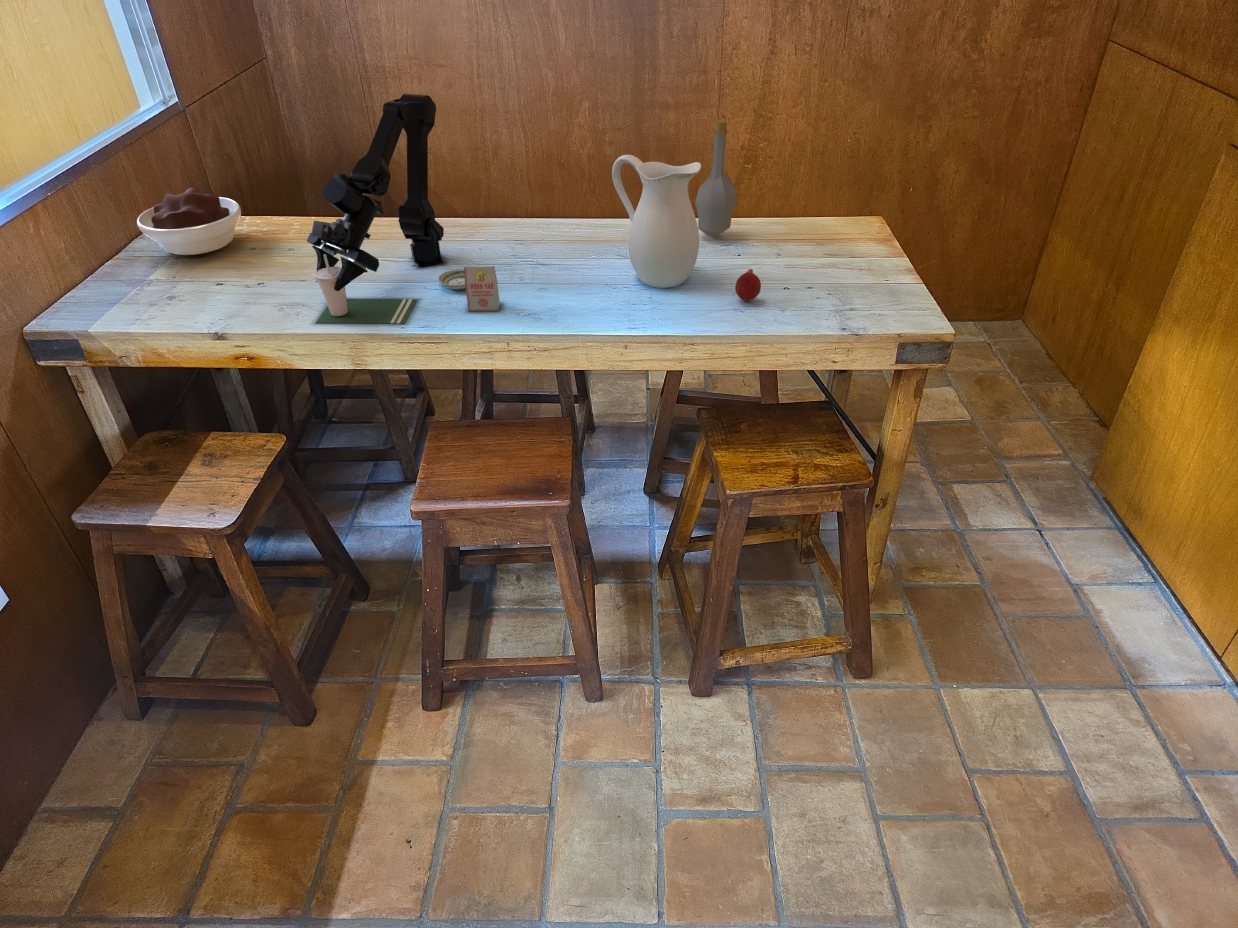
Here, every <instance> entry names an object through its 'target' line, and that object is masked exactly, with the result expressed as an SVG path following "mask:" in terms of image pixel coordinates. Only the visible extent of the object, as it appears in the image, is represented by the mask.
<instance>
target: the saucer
mask: <svg viewBox="0 0 1238 928" xmlns="http://www.w3.org/2000/svg"><path fill="white" fill-rule="evenodd" d="M437 282H438V283H439V284H440V285H442V286H443V287H445V288H447V289H450V290H452V291H461V290H466V288H465V273H464V268H454V269H450V270H446V271H444V272H442V273H441V274H439V275H438V277H437Z"/></svg>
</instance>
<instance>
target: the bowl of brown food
mask: <svg viewBox="0 0 1238 928" xmlns="http://www.w3.org/2000/svg"><path fill="white" fill-rule="evenodd" d="M241 215H242V208H241V206H240V205H239V203H238V202H237V201H235V200H233V199H230V198H228V197H221V196H217V195H215V194H212V193H206V192H205V191H203V190H201V189H199V188H194V187H189V188H187V189H186V190H185V191H184V192H182V193H179V194H173V193H166V194H165V196H164V197H163V200H162V202H161V203H158V204H155V205H154V206H153V207H150V208H148V209H146V210H144V211H143V212H141V214H139V216H138V217H137V219H136V225H137V227H138V230H139V231H140V232H141V233H142V234H143V235H144V236H146V237H147V238H149V239H150V240H152V241H154V242H156V243H157V244H158V246H160V248H161V249H162V250H164V251H165V252H167V253H169V254H174V255H177V256H178V255H179V256H195V255H201V254H207V253H212V252H214V251H217V250H221V249H222V248H225V247H226V246H227V245H229V244H230V243H231V242H232V241H233V240H234V238H235V233H236V227H237V226H238V224H239V222H240V219H241V217H242V216H241Z"/></svg>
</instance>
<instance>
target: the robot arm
mask: <svg viewBox="0 0 1238 928" xmlns="http://www.w3.org/2000/svg"><path fill="white" fill-rule="evenodd" d="M436 114H437V105H436V103H435V102H434V101H433V98H432V97H431V96H430V95H428V94H416V93H403V94H402V95H401V96H400V98H393V99H391V100H389V101H386V102H384V103H383V105H382V114H381V117H380V119H379V122H378V124H377V126H376V127H377V128H376V130H375V132H374V135H373V137H372V141H371V143H370V145H369V148H368V150H367V152H366V154H365V155H364V156H363V157H361V158H360V159H358V160H357V162H356V163H355V166H354V167H353V169H352V171H351V173H350V174H348V176H347V175H346V174H345V173H340V172H336V173H335V175H334V177H333V178H331V179H329V180H328V181H327V182H326V183H325V185H324V186H323V188H322V197H323V199H324V201H325V202H327V203H328V204H329V205H331V206H332V207H334V209H337V210H338V211H340V213H342V214H344V215H343V217H342V219H341V218H339V217H338V218H336V220H335V221H332V222H328V221H320V220H313V221H312V228H311V232H310V233H308V236H307V238H306V239H305V241H306V242H307V243H309V244H310V245H312V246H311V247H312V249H313V250H314V252H315V254H316V259H317V260H316V261H317V262H316V272H317V271H318V270H320V269H323V268H327V267H326V263H325V259H324V254H326V256H327V260H328V264H329V267H336V265H337V263H338V262H339V261H340V262H341V267H340V268H341V270H340V273H339V275H338V278H337V281H336V283H335V287H334V290H336V291H340V290H341V289H342V288H343V287H345V288H346V286H348V285H349V284H350V283H351V282H353V281H354V280H355V279H357V278H358V277H360V276H361V275H363V274H365V273H368V272H369V271H371V272H375V273H377V271H378V269H379V267H380V261H379V259H378V258H377V257H375V256H374V255H372V254H371V253H370V252H367V251H366V250H364V249H362V245H363V243H364V240H365V239H366V240H370V238H371V234H370V233H368V232H369V230H370V228H371V226H372V224H373V221H374V219H375V217H376V215H377V214H380V215H384V212H385V211H384V209H383V206H382V201H380V200H378V199H376V198H373V199H372V198H371V197H370V196H372V197H373V196H374V197H383V196H385V195H386V194H387V192H388V189H389V185H390V182H391V177H392V174H391V171H390V163H391V160H392V158H393V155H394V152H395V150H396V148H397V147H396V146H397V144H398V142H399V139H400V137H401V133H402V131H404V133H405V136H406V138H405V139H406V144H405V145H406V198H405V200H404V203H403V204H400V205H399V206H398V220H397V221H398V223H399V228H400V230H401V232H402V234H403V236H404V239H406V240H411V243H410V244H409V246H410V252H411V257H412V260H413V262H414V263H415V264H416V265H417V267H419V268H422V267H428V266H434V265H439V264H443V263H444V259H443V258H442V253H441V247H440V242H441V241H443V238H444V233H445V232H444V231H445V229H444V227H443V226H442V225H441V224H440V223H439V222H438V221H437V220H436V214H435V209H434V208H433V205H432V204H431V202H430V200H429V167H428V166H429V154H428V153H429V143H428V141H429V139H428V138H429V134H430V133H431V132H432V129H433V128H434V126H435V123H436ZM337 254H338V255H341V256H340V259H339V258H338V257H335V256H336V255H337ZM343 256H344V257H343ZM345 257H346V258H345ZM315 282H316V283H318V281H316V280H315Z"/></svg>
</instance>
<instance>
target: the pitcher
mask: <svg viewBox="0 0 1238 928" xmlns="http://www.w3.org/2000/svg"><path fill="white" fill-rule="evenodd" d="M624 163H626V164H629V165H631V166H632V167H633V168H634V170H635V171H636V172H637V174H638V176H639V177H640V181H641V183H642V191H641V195H640V199H639V201H638V204H637V206H636V209H634V207H633V204H632V203H631V201H630V199H629V197H628V194H627V192H626V190H625V188H624V185H623V182H622V177H621V170H622V169H621V168H622V166H623V164H624ZM701 170H702V163H701V162H700V161H699V162H698V161H695V162H691V163H688V164H684V165H671V164H667V163H664V162H660V161H647V162H643V161H642V160H641V159H639V157H636V156H635V155H632V154H622V155H620V156H619V157H617V158H616V160H615V161H614V163H613V165H612V169H611V177H612V182H613V186H614V188H615V190H616V193H617V195H618V196H619V198H620V200H621V202H622V204H623V206H624V208H625V209H626V212H627V214H628V217H629V220H630V225H629V230H628V239H627V249H628V256H629V260H630V264H631V266H632V268H633V269H634V270H633V271H634V272H635V274H636V276H637V277H638V279H639V281H640V282H642V283H643V285H646V286H649V287H652V288H657V289H666V288H667V289H668V288H674V287H678V286H680V285H682V284H683V283H685V281H687V279H688V278H689V276H690V274H691V273H692V271H693V269H694V268H695V265H696V262H697V259H698V255H699V249H700V234H699V232H700V231H699V229H698V223H697V219H696V215H695V212H694V209H693V205H692V203H691V200H690V197H689V196H690V195H689V182H690V181H691V180H692V179H693V178H694V177H696V175H698V174H699V173H700V172H701Z"/></svg>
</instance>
